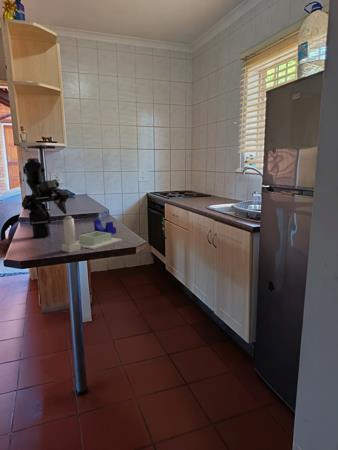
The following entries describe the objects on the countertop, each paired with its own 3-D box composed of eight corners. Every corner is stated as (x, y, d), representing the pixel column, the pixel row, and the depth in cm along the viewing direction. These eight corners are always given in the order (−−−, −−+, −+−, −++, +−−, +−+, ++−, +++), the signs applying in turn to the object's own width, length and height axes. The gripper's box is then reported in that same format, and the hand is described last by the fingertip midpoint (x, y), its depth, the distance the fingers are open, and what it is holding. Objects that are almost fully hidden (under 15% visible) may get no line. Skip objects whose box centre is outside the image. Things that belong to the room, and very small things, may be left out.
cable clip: (116, 233, 149) (115, 221, 148) (108, 235, 146) (107, 222, 145) (102, 230, 157) (101, 218, 156) (94, 231, 154) (93, 220, 153)
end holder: (68, 244, 130) (68, 236, 129) (97, 236, 143) (97, 229, 142) (93, 249, 121) (92, 240, 120) (122, 240, 133) (121, 232, 133)
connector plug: (62, 250, 121) (58, 217, 118) (72, 247, 124) (69, 215, 122) (69, 252, 118) (66, 218, 115) (80, 249, 122) (77, 216, 119)
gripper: (21, 174, 116) (41, 204, 111) (64, 172, 130) (82, 199, 126) (13, 194, 122) (32, 223, 117) (55, 190, 136) (72, 216, 132)
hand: (56, 215), depth 123 cm, fingers open, 9 cm apart
